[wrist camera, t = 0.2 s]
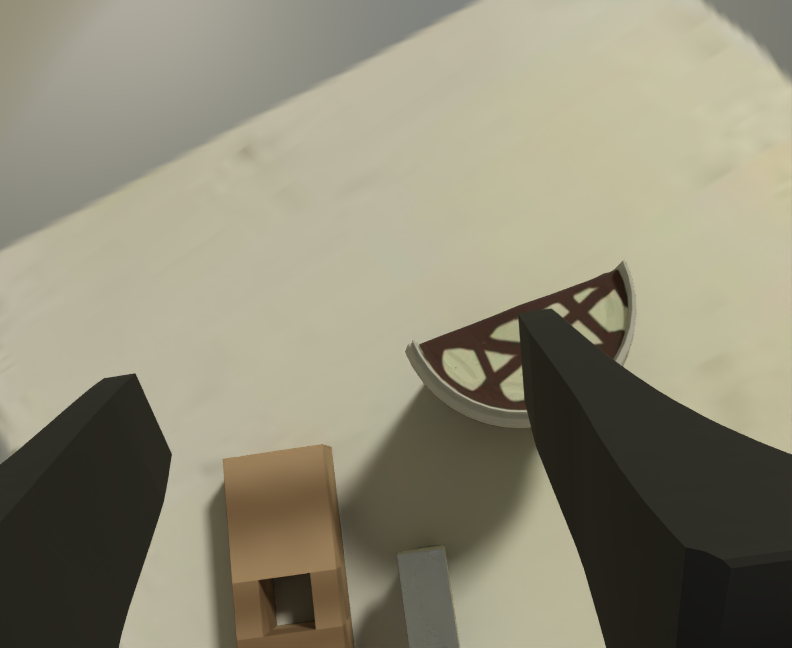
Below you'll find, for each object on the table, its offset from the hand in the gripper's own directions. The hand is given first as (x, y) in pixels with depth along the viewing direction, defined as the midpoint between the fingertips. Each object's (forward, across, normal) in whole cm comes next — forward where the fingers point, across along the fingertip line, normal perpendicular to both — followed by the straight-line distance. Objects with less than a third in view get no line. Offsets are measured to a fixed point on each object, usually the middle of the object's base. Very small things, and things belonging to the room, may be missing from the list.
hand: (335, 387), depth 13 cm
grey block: (+15, 0, +28) cm, 32 cm away
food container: (+24, -7, +20) cm, 32 cm away
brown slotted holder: (+14, +8, +28) cm, 33 cm away
